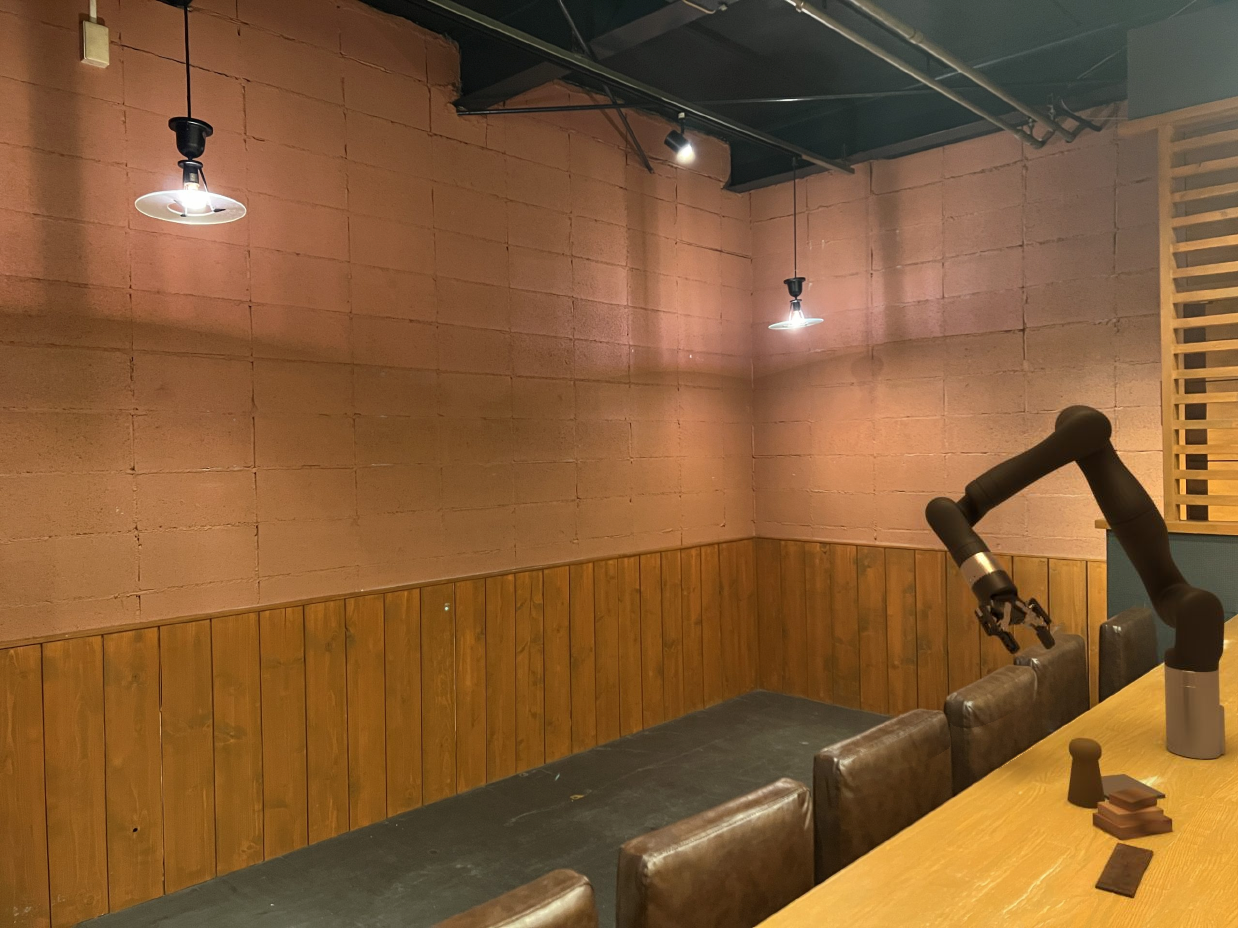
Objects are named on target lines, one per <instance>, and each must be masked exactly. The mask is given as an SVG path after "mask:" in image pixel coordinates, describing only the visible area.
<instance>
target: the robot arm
mask: <svg viewBox="0 0 1238 928" xmlns="http://www.w3.org/2000/svg"><path fill="white" fill-rule="evenodd" d="M1054 423H1055V424H1054V431H1053V432H1052V433H1051V434H1050V435H1048V436H1047V437H1046V438H1045V439H1043V440H1042V441H1040V442H1039V443H1038V444H1036V445H1034V446H1032V447H1031V448H1029V449H1027V450H1025V451H1023V452H1021V453H1019V454H1017V455H1015V456H1013V457H1011V458H1009V459H1006V460H1005V461H1004V460H1003V461H1001V462H1000V463H998V464H996V465H995V466H993V467H991V468H989V469H988V470H986V471H985V472H983V473H982V474H980V475H979V476H977V477H976V478H975V479H973V480H971V481H970V482H969V483H968V484H966V485H965V487H964V493H965V494H964V495H963V496H962V497H961V498H959V499H958V501H957V502H956V501H954V500H953V499H952V498H949V497H946V496H937V497H934V498H933V499H931V500H930V501H929V502H928V503H927V504H926V507H925V510H924V514H925V519H926V522H927V524H928V525H929V527H930V528H931V529H932V531H933V532H934V533H935V535H936V537H938V539H939V540H940V541H941V542H942V544H943V545H944V546H945V548H946V550H947V551H948V552H949V554H950V556H951V558H952V559H953V561H954V563H955V564H956V566H957V567H958V569H959V570H960V572H961V575H962V576H963V579H964V581H965V583H966V584H967V585H968V587H969V589H970V591H971V592H972V593H973V595H974V596H975V598H976V600H977V601H978V602H979V605H978V606H977V607H976V609H974V612H973V613H974V614H975V617H976V618H977V620H978V621H979V623H980V625H981V627H982V629H983V631H984V632H985V634H986V635H987V637H994V636H995V637H996V638H998V639H999V640H1000V641H1001V643H1002V645H1003V646H1004V647H1005V649H1006V650H1007V651H1008V652H1009V653H1010V654H1011V655H1015V654H1017V653H1018V652H1019V651H1020V650H1021V647H1020V644H1019V643H1018V641H1017V640H1016V639H1015V637H1014V635H1013V634H1012V632H1011V631H1009V627H1010V626H1012V625H1015V626H1021V627H1023V628H1025V629H1027V628H1028V629H1030V631H1032V632H1034V633H1035V635H1036V637H1037V638H1038V641H1040V643H1041V644H1042V645H1043V647H1044V649H1046V650H1051V649H1052V648H1054V647H1055V645H1056V641H1055V638H1054V637H1053V635H1052V634H1051V633H1050V631H1049V629H1048V628H1047V627H1049V625H1051V624H1052V622H1053V621H1052V619H1051V617H1050V616H1049V615H1048V613H1047V612H1046V611H1045V610H1044V608H1043V607H1042V606H1041V604H1040V602H1038V600H1037V599H1036V598H1034V597H1031V598H1030V599H1029V600H1023V599H1022V598H1021V597H1020V596H1019V591H1018V587H1017V585H1016V584H1015V583H1014V581H1013V580H1012V578H1011V577H1010V575H1009V574H1008V573H1007V571H1006V569H1005V568H1004V566H1003V565H1002V564H1001V562H1000V560H999V559H998V558H997V557H995V555H994V554H993V553H992V551H991V550H990V549H989V547H988V546H987V544H986V542H985V541H984V540H983V539H982V537H981V536H980V535H979V534H978V533H976V531H975V530H974V529H973V528H974V527H975V525H977V524H978V523H979V522H980V521H981V520H982V519H983V518H984V517H986V515H987V514H988V512H990V511H991V510H993V509H995V508H996V507H998V506H1000V505H1001V504H1003V503H1004V502H1005V501H1007V500H1009V499H1010V498H1012V497H1013V496H1015V495H1016V494H1018V493H1019V492H1021V491H1023V490H1024V489H1025V488H1027V487H1029V486H1030V485H1032V484H1034V483H1036V482H1037V481H1039V480H1040V479H1042V478H1044V477H1046V476H1048V475H1049V474H1051V473H1053V472H1054V471H1057V470H1058V469H1061V468H1062V467H1064V466H1066V465H1068V464H1071V463H1073V462H1075V463H1076V465H1077V467H1079V469H1080V471H1081V472H1082V474H1083V475H1084V478H1085V480H1086V481H1087V483H1088V485H1089V488H1090V491H1091V493H1092V495H1093V498H1094V499H1095V501H1096V503H1097V505H1098V507H1099V510H1100V511H1101V513H1102V514H1103V517H1104V519H1105V522H1106V523H1107V525H1108V526H1109V528H1110V530H1111V531H1112V533H1113V535H1114V537H1115V538H1116V540H1117V541H1118V542H1119V544H1120V546H1121V548H1122V550H1123V552H1124V553H1125V555H1126V557H1128V559H1129V562H1130V563H1131V564H1132V566H1133V568H1134V569H1135V570H1136V572H1137V574H1138V576H1139V578H1140V579H1141V582H1142V584H1143V587H1144V589H1145V591H1146V592H1147V595H1148V597H1149V600H1150V602H1151V604H1152V607H1153V609H1154V611H1155V613H1156V614H1157V616H1158V618H1159V619H1160V620H1161V621H1162V623H1164V624H1165V625H1166V626H1168V627H1170V628H1172V629H1174V630H1175V634H1174V635H1175V641H1174V646H1172V647H1170V648H1167V649H1165V650H1164V654H1163V659H1164V660H1163V663H1164V665H1163V666H1164V667H1163V668H1164V696H1165V697H1164V704H1165V706H1164V707H1165V710H1164V711H1165V739H1166V741H1165V743H1166V744H1165V745H1166V747H1165V748H1166V749H1167V750H1168V751H1169V752H1170V753H1173V754H1175V755H1178V756H1181V757H1187V758H1191V759H1199V760H1200V759H1202V760H1209V759H1210V760H1211V759H1216V758H1219V757H1221V756H1222V755H1225V754H1226V727H1225V726H1226V723H1225V720H1226V718H1225V716H1226V715H1225V707H1224V706H1223V705H1221V702H1220V701H1221V699H1220V660H1221V658H1222V657H1223V653H1224V647H1225V645H1224V644H1225V643H1224V642H1225V613H1224V612H1225V611H1224V607H1223V603H1222V602H1221V600H1220V598H1219V597H1218V596H1217V595H1216V594H1214V593H1212V592H1211V591H1208V590H1205V589H1202V588H1198V587H1195V586H1192V585H1190V583H1189V582H1188V581H1187V579H1186V578H1185V577H1184V575H1183V573H1181V571H1180V569H1179V568H1178V566H1177V565H1176V563H1175V561H1174V559H1173V556H1172V553H1171V548H1170V539H1169V537H1170V536H1169V530H1168V527H1167V524H1166V521H1165V519H1164V517H1163V516H1162V514H1161V511H1160V510H1159V509H1158V506H1157V505H1156V504H1155V502H1154V500H1153V499H1152V498H1151V496H1150V494H1149V493H1148V491H1147V490H1146V489H1145V488H1144V486H1143V484H1142V483H1141V482H1140V481H1139V480H1138V479H1137V477H1136V476H1135V475H1134V474H1133V473H1132V472H1131V471H1130V469H1129V468H1128V467H1127V466H1126V465H1125V464H1124V462H1123V461H1122V459H1121V457H1119V455H1118V453H1117V451H1116V449H1115V448H1114V445H1113V443H1112V441H1111V437H1112V434H1113V433H1112V432H1113V427H1112V423H1111V421H1110V419H1109V417H1108V416H1106V415H1105V414H1104V413H1103V412H1101V411H1100V410H1098V409H1096V408H1094V407H1092V406H1088V405H1083V404H1074V405H1070V406H1067V407H1066V408H1063V410H1062V411H1060V412H1059V414H1058V415H1057V417H1056V419H1055V422H1054ZM1027 616H1028V618H1027ZM1041 618H1042V619H1041ZM1035 624H1036V625H1035Z"/></svg>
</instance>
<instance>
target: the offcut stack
mask: <svg viewBox="0 0 1238 928" xmlns="http://www.w3.org/2000/svg"><path fill="white" fill-rule="evenodd" d="M1164 812H1165V811H1164V809H1163V808H1161V807H1159V806H1158V799H1157V795H1154V794H1152V793H1149V792H1146V791H1144V790H1141V789H1139V788H1136V787H1133V788H1129V789H1125V790H1121V791H1117V792H1113V793H1110V794H1109V800H1107V801H1106V800H1105V801H1104V802H1098V808H1097V811H1096V812H1092V813H1091V814H1092V825H1093V826H1094V827H1097V828H1098V829H1099V830H1101V831H1103V832H1106V833H1107V834H1108V835H1109V834H1110V836H1113V837H1115V838H1117V839H1119V840H1121V841H1124V840H1125V841H1126V840H1130V839H1135V838H1142V837H1146V836H1152V835H1159V834H1163V833H1164V834H1165V833H1170V832H1173V818H1172V817H1169V816H1166V815H1165V814H1164Z"/></svg>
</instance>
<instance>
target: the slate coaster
mask: <svg viewBox="0 0 1238 928" xmlns="http://www.w3.org/2000/svg"><path fill="white" fill-rule="evenodd" d="M1101 779H1102V785H1103V790H1104V796H1105V800H1107V801H1109V794H1110V793H1113V792H1117V791H1121V790H1125V789H1129V788H1133V787H1136V788H1139V789H1141V790H1144V791H1146V792H1149V793H1152V794H1154V795H1157V800H1159V799H1166V793H1164V792H1161V791H1159V790H1158V789H1155V788H1153V787H1152V786H1149V785H1148V784H1145V782H1142V781H1139V780H1138V779H1135V778H1133V777H1131V776H1130V775H1128V774H1127V773H1126V774H1125V773H1121V774H1120V773H1118V774H1112V775H1109V774H1108V775H1103V776H1102V775H1101Z"/></svg>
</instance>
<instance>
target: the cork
mask: <svg viewBox="0 0 1238 928" xmlns="http://www.w3.org/2000/svg"><path fill="white" fill-rule="evenodd" d="M1068 752H1069V756H1071V757H1072V759H1071V765H1070V776H1069V783H1068V791H1067V801H1068V802H1069V803H1070V804H1072V805H1074V806H1076V807H1078V808H1083V809H1091V810H1093V809H1095V810H1096V809H1097V810H1098V802H1104V801H1106V798H1105V796H1104V790H1103V785H1102V779H1101V776H1102V774H1101V767H1100V762H1099V760H1101V758H1102V754H1103V751H1102V746H1101V744H1100V743H1099V742H1098V741H1096V740H1094V739H1091V738H1087V737H1075V738H1073V739H1071V740H1070V742H1069V744H1068Z"/></svg>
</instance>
